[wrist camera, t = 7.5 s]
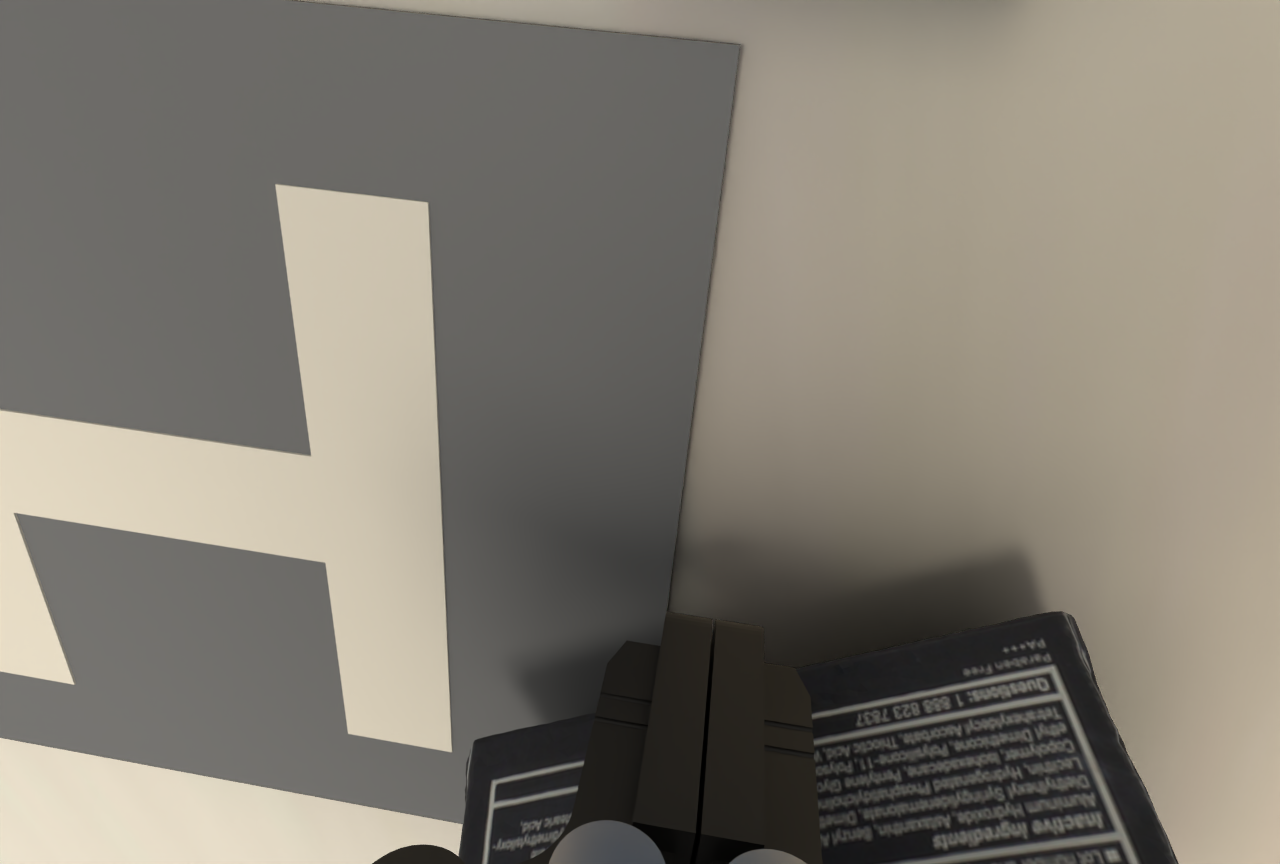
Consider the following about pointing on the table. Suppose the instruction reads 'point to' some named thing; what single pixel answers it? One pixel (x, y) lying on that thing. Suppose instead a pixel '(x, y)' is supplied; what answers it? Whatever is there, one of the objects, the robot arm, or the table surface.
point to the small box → (899, 760)
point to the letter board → (340, 378)
